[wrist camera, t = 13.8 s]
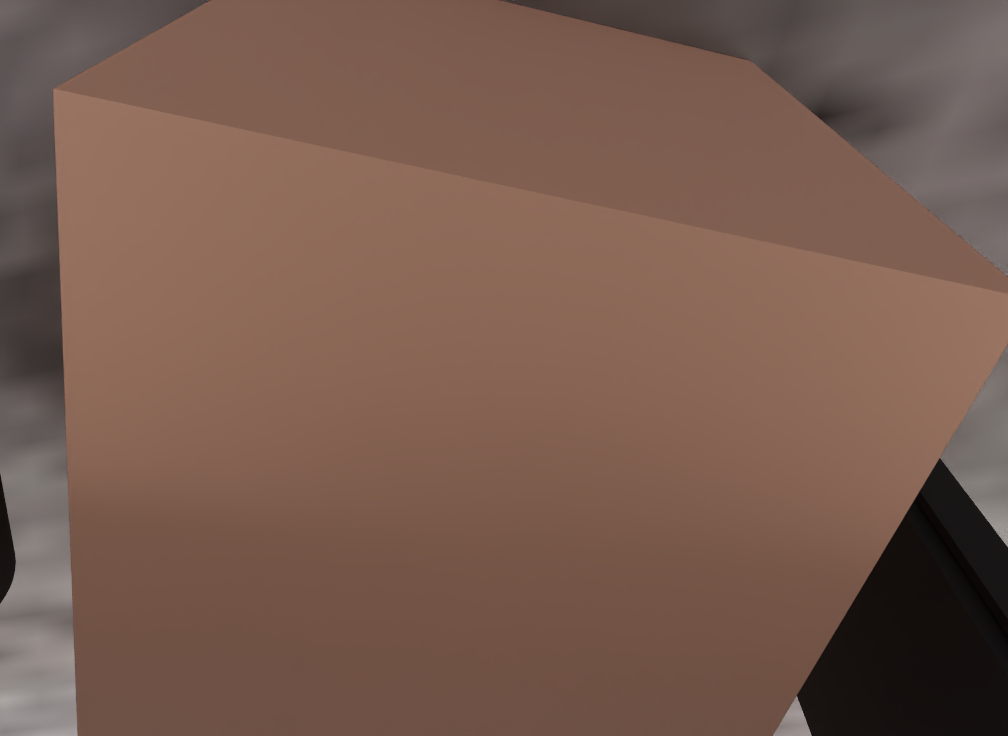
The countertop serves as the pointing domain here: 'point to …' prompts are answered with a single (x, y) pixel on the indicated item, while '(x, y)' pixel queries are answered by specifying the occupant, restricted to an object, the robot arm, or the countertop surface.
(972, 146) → the countertop surface
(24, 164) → the countertop surface
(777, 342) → the terracotta brick
